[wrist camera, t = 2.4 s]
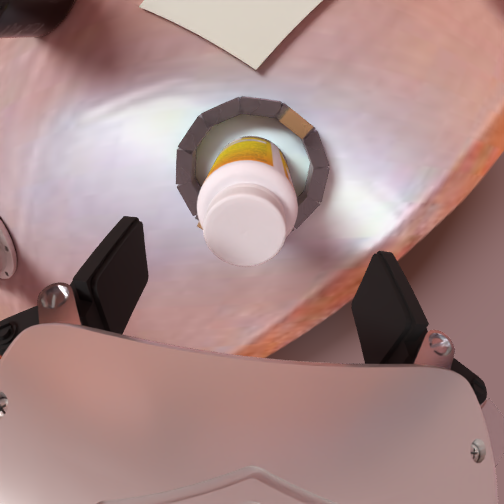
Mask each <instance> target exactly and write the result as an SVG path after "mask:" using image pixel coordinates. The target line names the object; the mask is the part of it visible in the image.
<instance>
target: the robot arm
mask: <svg viewBox="0 0 504 504" xmlns="http://www.w3.org/2000/svg"><path fill="white" fill-rule="evenodd" d="M16 267H17V258H16V252H15V248H14V245H13V242H12V240H11V237H10V235H9V233H8V231H7V229H6V227H5V226H4V224H3V222H2V221H1V219H0V278H2V279H8V278H10V277H11V276H12V275H13V274H14V272H15V271H16ZM147 281H148V268H147V260H146V251H145V242H144V232H143V223H142V222H141V221H139V219H138V218H137V217H129V216H124V217H123V218H122V219H121V220H120V221H119V222H118V223H117V224H116V226H115V227H114V228H113V229H112V230H111V231H110V233H109V234H108V235H107V236H106V237H105V238H104V240H103V241H102V242H101V243H100V244H99V246H98V247H97V248H96V249H95V251H94V252H93V253H92V254H91V256H90V257H89V258H88V259H87V261H86V262H85V263H84V264H83V266H82V267H81V268H80V270H79V271H78V272H77V274H76V275H75V276H74V278H73V281H72V283H71V284H70V285H68V284H66V283H54V284H51V285H49V286H47V287H46V288H45V289H43V291H42V292H41V293H40V295H39V297H38V302H37V303H38V306H35V307H33V308H30V309H28V310H25V311H23V312H20V313H18V314H16V315H13V316H11V317H8V318H6V319H4V320H2V321H0V504H498V491H497V480H496V479H497V478H496V471H495V467H496V466H497V464H498V462H499V460H500V459H501V457H502V455H503V454H504V417H503V415H502V414H501V412H500V411H499V410H498V408H497V407H496V406H495V404H494V403H493V402H492V401H491V400H490V398H488V399H487V400H486V396H487V391H486V387H485V384H484V382H483V381H482V380H481V379H480V378H479V377H478V376H477V375H475V374H474V373H473V372H471V371H470V370H469V369H468V368H466V367H465V366H464V365H462V364H461V363H460V362H458V361H457V360H456V359H454V353H455V348H454V345H453V343H452V341H451V339H450V338H449V337H448V336H447V335H446V334H444V333H443V332H441V331H438V330H430V331H427V328H426V327H427V326H428V324H429V323H428V321H427V319H426V317H425V315H424V313H423V310H422V308H421V306H420V304H419V302H418V300H417V298H416V296H415V294H414V292H413V290H412V288H411V286H410V285H409V282H408V281H407V279H406V277H405V275H404V273H403V271H402V269H401V268H400V266H399V264H398V262H397V260H396V258H395V257H394V255H393V254H392V253H391V252H384V251H378V252H377V254H374V255H373V256H372V259H371V261H370V263H369V266H368V268H367V270H366V273H365V275H364V277H363V279H362V282H361V284H360V286H359V288H358V290H357V293H356V295H355V297H354V299H353V301H352V312H353V316H354V319H355V324H356V327H357V331H358V335H359V339H360V343H361V348H362V352H363V356H364V360H365V364H344V363H319V362H303V361H289V360H276V359H266V358H257V357H248V356H239V355H232V354H224V353H217V352H211V351H204V350H198V349H192V348H186V347H180V346H175V345H170V344H164V343H159V342H154V341H150V340H145V339H140V338H136V337H131V336H126V335H122V334H123V332H124V330H125V327H126V325H127V323H128V321H129V319H130V317H131V314H132V312H133V310H134V308H135V306H136V304H137V302H138V300H139V298H140V296H141V294H142V292H143V290H144V288H145V286H146V284H147Z"/></svg>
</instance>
